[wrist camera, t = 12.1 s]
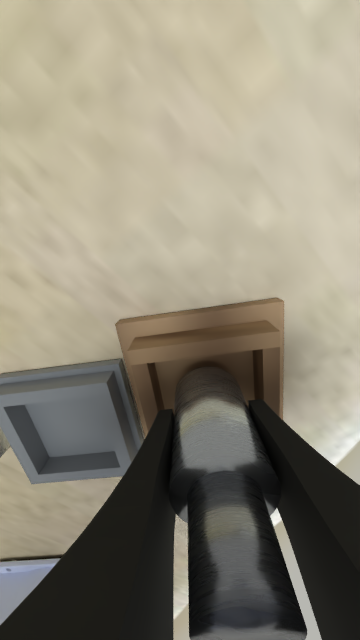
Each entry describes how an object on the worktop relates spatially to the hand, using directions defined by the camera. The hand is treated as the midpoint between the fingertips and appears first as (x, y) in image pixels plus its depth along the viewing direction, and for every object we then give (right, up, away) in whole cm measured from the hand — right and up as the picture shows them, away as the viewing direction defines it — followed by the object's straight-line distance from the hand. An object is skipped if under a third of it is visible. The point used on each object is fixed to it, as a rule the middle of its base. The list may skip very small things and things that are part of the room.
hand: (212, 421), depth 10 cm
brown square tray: (0, +1, +3) cm, 4 cm away
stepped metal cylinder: (0, +1, +2) cm, 2 cm away
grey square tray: (-9, -2, +5) cm, 10 cm away
